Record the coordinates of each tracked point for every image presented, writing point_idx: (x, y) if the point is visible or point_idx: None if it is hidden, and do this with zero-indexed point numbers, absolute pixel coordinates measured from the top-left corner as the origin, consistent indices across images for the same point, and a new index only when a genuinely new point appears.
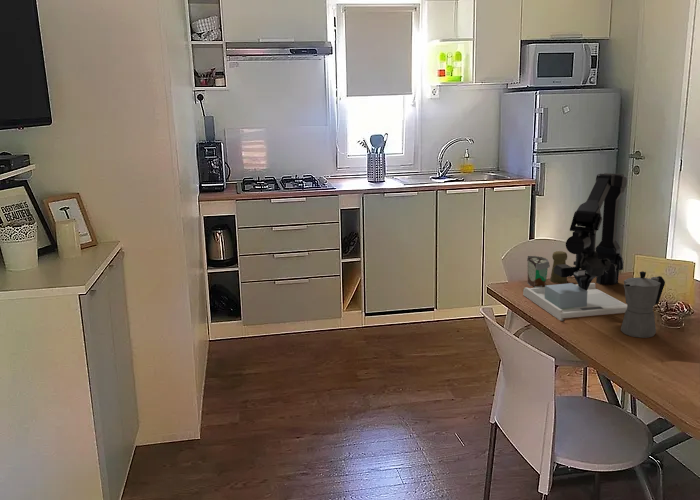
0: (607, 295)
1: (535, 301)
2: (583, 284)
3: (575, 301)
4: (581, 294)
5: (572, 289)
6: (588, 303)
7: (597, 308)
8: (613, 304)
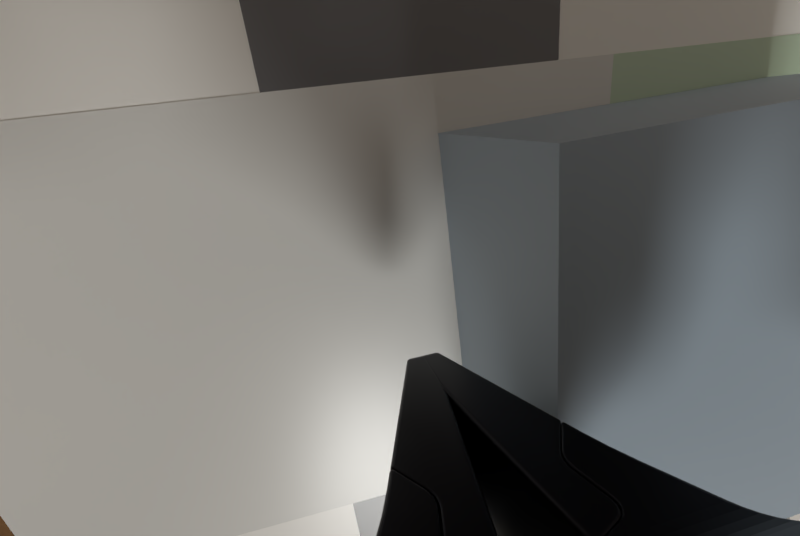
0: (33, 515)
1: None
2: (560, 446)
3: (651, 102)
4: (648, 117)
5: (750, 296)
6: (372, 239)
7: (330, 4)
8: (10, 162)
